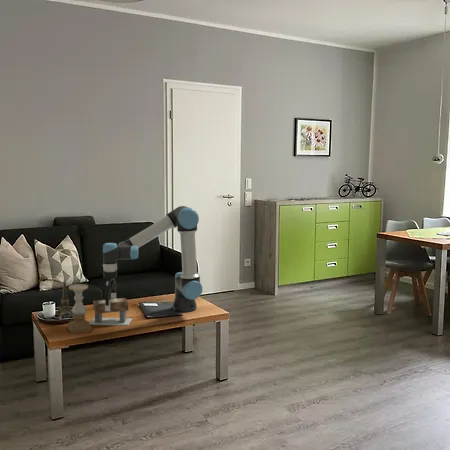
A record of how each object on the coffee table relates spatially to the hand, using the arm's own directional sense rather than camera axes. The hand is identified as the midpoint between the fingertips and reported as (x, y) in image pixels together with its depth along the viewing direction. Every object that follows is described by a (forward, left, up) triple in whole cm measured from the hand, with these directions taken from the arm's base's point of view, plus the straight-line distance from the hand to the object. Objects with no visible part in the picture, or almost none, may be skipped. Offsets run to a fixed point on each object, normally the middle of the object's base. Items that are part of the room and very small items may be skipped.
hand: (110, 307), depth 287 cm
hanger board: (0, 0, -8) cm, 8 cm away
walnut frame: (0, 0, -1) cm, 1 cm away
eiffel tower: (+29, -9, -9) cm, 32 cm away
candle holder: (+14, +13, -9) cm, 21 cm away
